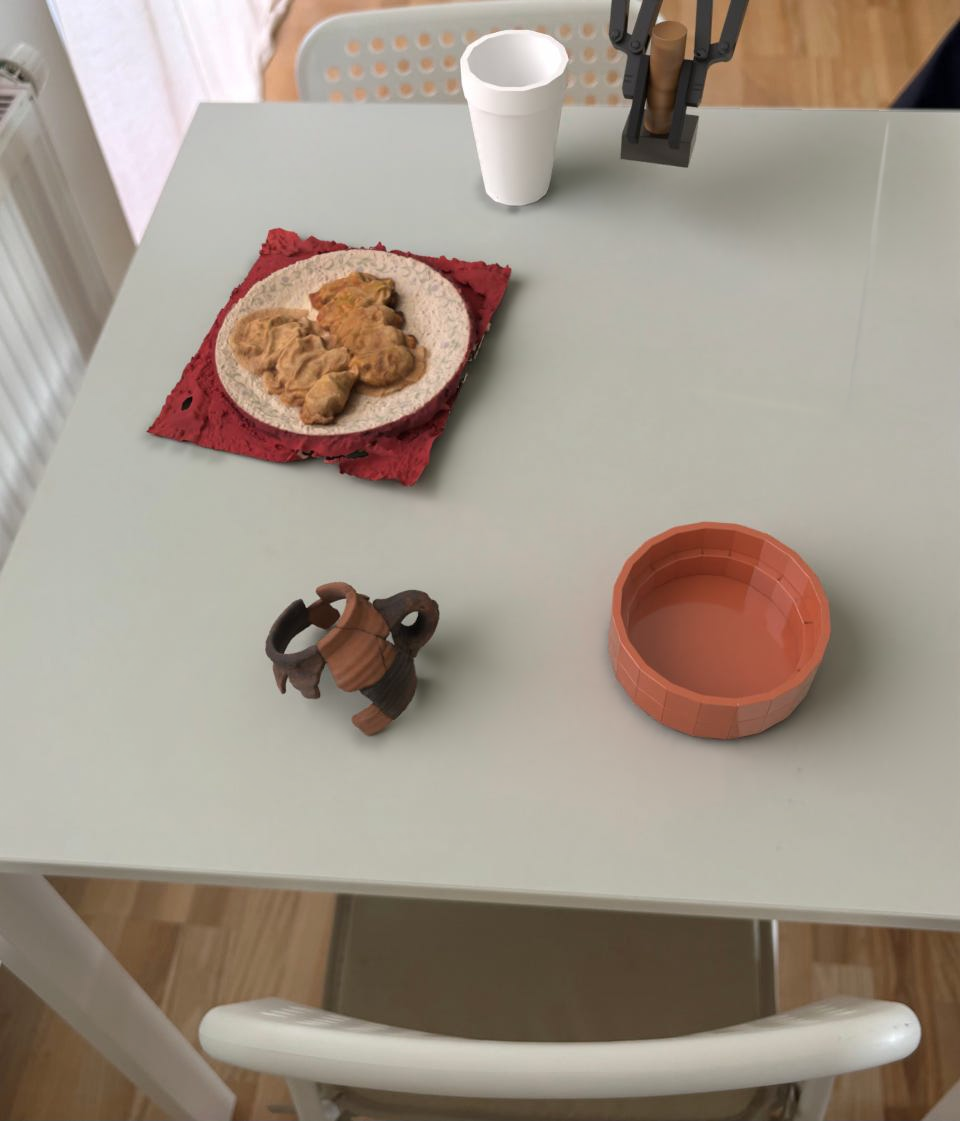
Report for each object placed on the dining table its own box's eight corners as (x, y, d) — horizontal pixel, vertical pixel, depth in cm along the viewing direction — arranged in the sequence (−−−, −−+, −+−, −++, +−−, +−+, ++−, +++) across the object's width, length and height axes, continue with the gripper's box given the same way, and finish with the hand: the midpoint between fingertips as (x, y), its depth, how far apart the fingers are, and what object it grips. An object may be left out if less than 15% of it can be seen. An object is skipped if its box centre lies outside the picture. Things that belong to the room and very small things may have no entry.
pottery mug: (337, 772, 74) (266, 694, 70) (308, 697, 82) (243, 623, 77) (483, 668, 74) (422, 584, 70) (440, 604, 82) (383, 525, 78)
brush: (696, 140, 98) (711, 20, 89) (687, 168, 96) (702, 48, 86) (629, 132, 99) (637, 12, 90) (620, 159, 97) (627, 39, 88)
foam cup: (584, 191, 106) (589, 65, 95) (505, 229, 103) (501, 104, 93) (527, 143, 111) (525, 17, 100) (450, 178, 108) (440, 54, 97)
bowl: (809, 573, 81) (825, 529, 76) (817, 752, 73) (836, 715, 68) (614, 558, 82) (618, 514, 78) (602, 731, 74) (606, 694, 70)
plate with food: (514, 283, 100) (513, 252, 97) (416, 495, 86) (412, 466, 83) (275, 240, 105) (268, 210, 102) (147, 433, 91) (134, 404, 88)
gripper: (809, -137, 90) (747, 164, 94) (617, -152, 93) (567, 140, 98) (814, -181, 82) (747, 147, 87) (606, -195, 85) (553, 122, 90)
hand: (652, 142), depth 92 cm, fingers closed on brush, 3 cm apart
